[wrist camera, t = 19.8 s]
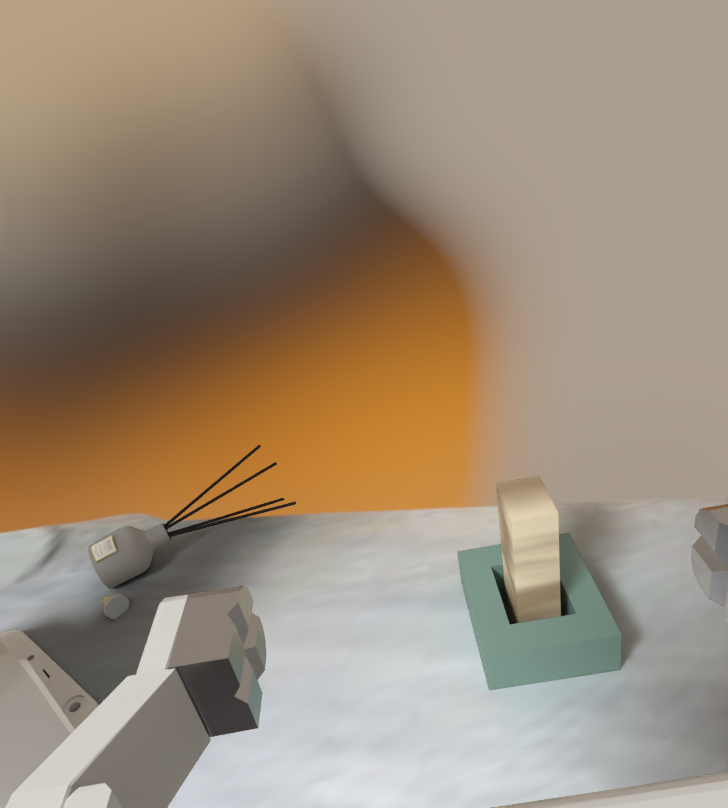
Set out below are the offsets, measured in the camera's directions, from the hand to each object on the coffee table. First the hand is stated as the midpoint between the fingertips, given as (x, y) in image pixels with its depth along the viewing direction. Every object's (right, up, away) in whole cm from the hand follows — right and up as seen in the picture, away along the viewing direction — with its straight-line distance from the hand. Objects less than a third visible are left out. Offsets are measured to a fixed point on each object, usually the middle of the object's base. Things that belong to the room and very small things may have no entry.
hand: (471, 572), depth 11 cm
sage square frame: (+11, -13, +35) cm, 39 cm away
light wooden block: (+11, -13, +35) cm, 39 cm away
